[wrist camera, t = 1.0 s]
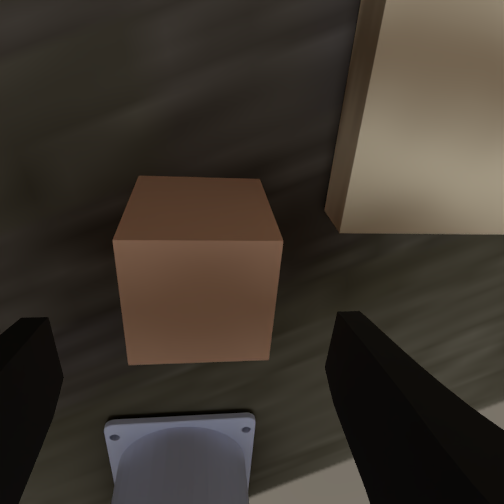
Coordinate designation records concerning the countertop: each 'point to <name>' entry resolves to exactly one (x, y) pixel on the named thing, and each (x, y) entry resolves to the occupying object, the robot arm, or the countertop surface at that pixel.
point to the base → (422, 121)
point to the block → (197, 270)
